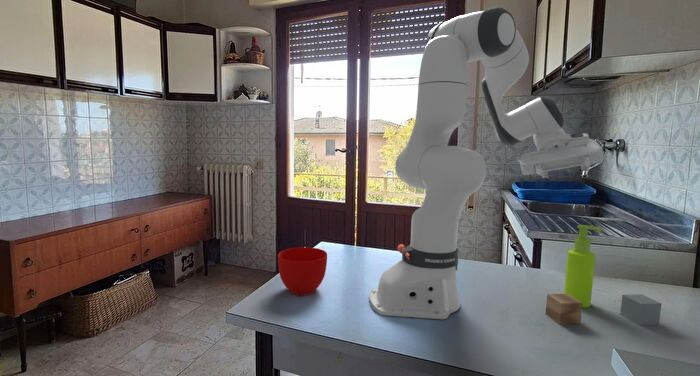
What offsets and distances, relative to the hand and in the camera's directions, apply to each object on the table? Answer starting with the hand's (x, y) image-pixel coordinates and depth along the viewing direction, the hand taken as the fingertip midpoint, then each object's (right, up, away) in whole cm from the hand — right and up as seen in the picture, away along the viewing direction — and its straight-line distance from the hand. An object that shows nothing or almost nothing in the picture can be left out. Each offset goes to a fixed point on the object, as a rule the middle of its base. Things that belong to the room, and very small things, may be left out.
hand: (565, 172), depth 96 cm
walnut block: (-8, -34, -12) cm, 37 cm away
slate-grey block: (+10, -35, -12) cm, 38 cm away
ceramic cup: (-69, -32, +3) cm, 76 cm away
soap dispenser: (+1, -34, -4) cm, 34 cm away
